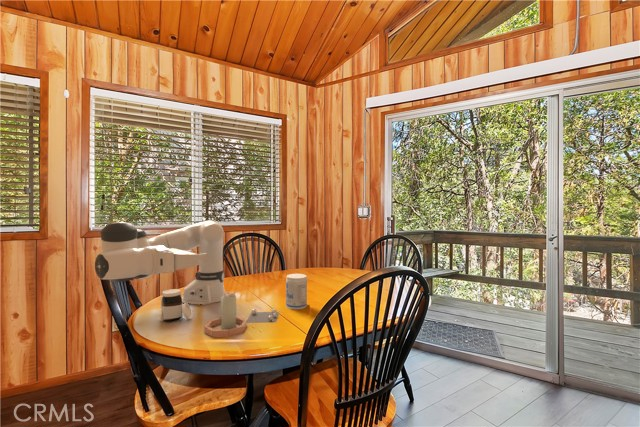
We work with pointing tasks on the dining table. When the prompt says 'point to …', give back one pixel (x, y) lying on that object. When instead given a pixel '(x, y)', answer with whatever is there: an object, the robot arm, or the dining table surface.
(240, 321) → the bowl
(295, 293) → the supplement tub
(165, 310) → the spread jar
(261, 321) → the parts board
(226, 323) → the pebble cup
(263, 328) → the dining table surface
